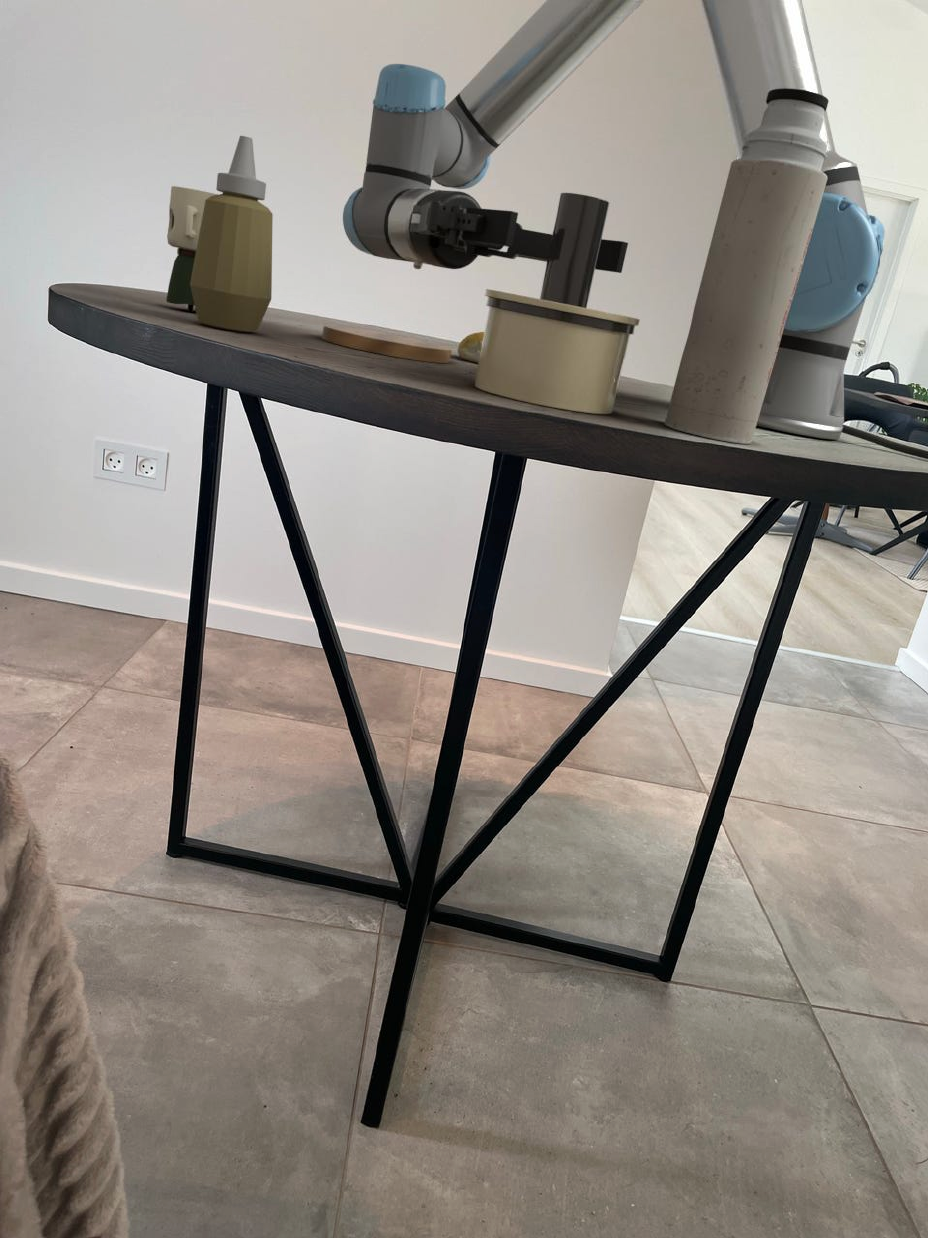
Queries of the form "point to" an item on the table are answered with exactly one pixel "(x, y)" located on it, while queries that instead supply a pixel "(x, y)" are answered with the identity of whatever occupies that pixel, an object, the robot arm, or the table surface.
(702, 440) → the table surface
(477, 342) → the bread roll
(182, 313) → the table surface
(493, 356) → the pot
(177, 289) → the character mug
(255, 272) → the squeeze bottle
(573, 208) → the lid
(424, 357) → the trivet
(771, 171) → the thermos bottle
